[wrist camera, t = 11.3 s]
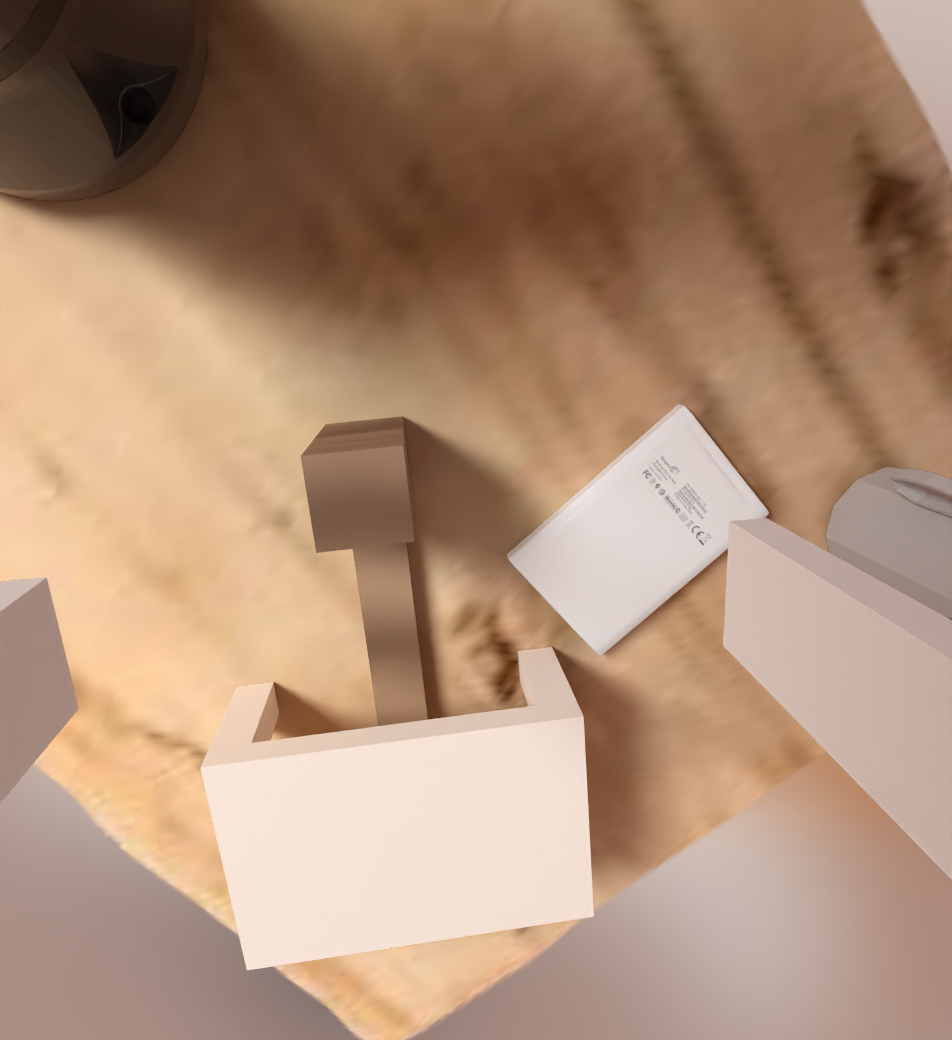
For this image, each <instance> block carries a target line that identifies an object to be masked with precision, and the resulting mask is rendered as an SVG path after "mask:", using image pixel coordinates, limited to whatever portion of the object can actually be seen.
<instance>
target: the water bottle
mask: <svg viewBox="0 0 952 1040" xmlns="http://www.w3.org/2000/svg"><path fill="white" fill-rule="evenodd" d="M825 538H826V541H827V545H828V549H829V553H831V554H832V555H834V556H836V557H838V558H840V559H841V560H843V561H845V562H847V563H849V564H851V565H852V566H854V567H856V568H858V569H860V570H861V571H863V572H865V573H867V574H869V575H871V576H872V577H874V578H876V579H878V580H880V581H881V582H883V583H885V584H887V585H889V586H890V587H892V588H894V589H896V590H898V591H900V592H901V593H903V594H905V595H907V596H909V597H910V598H912V599H914V600H916V601H918V602H919V603H921V604H923V605H925V606H927V607H929V608H930V609H932V610H934V611H936V612H938V613H939V614H941V615H943V616H945V617H948V618H951V619H952V479H950V478H947V477H944V476H942V475H939V474H936V473H932V472H927V471H922V470H918V469H903V468H895V467H885V468H883V469H881V470H878V471H876V472H873V473H871V474H869V475H866V476H864V477H862V478H859V479H857V480H856V481H855V482H854V483H853V484H852V485H851V487H850V488H849V489H848V490H847V491H846V492H845V493H844V494H843V496H842V497H841V498H840V499H839V500H838V501H837V502H836V504H835V505H834V506H833V509H832V513H831V517H830V521H829V525H828V528H827V532H826V536H825Z"/></svg>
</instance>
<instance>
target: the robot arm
mask: <svg viewBox="0 0 952 1040" xmlns="http://www.w3.org/2000/svg"><path fill="white" fill-rule="evenodd" d="M206 53H207V18H206V9H205V1H204V0H0V192H1V193H4V194H8V195H12V196H16V197H21V198H26V199H33V200H42V201H68V200H77V199H83V198H88V197H93V196H97V195H100V194H104V193H107V192H109V191H112V190H114V189H117V188H119V187H121V186H123V185H125V184H127V183H129V182H131V181H132V180H134V179H136V178H137V177H139V176H140V175H142V174H143V173H144V172H146V171H147V170H148V169H150V168H151V167H152V166H153V165H154V164H155V163H157V162H158V161H159V160H160V159H161V157H162V156H163V155H164V154H165V153H166V152H167V151H168V150H169V149H170V147H171V146H172V145H173V144H174V142H175V141H176V139H177V138H178V137H179V135H180V134H181V132H182V130H183V129H184V127H185V125H186V123H187V122H188V119H189V117H190V115H191V113H192V111H193V108H194V106H195V103H196V101H197V98H198V95H199V91H200V88H201V84H202V80H203V75H204V70H205V62H206ZM723 646H724V647H725V648H726V649H727V650H728V651H729V652H730V653H731V654H732V655H733V656H734V657H735V658H736V659H737V660H738V661H739V662H740V663H741V664H742V666H743V667H744V668H745V669H746V670H747V671H748V672H749V673H750V674H751V675H752V676H753V677H754V678H755V679H756V680H757V681H758V682H759V683H760V684H761V685H762V686H763V687H764V688H765V689H766V690H767V691H768V692H769V693H770V694H771V695H772V696H773V697H774V698H775V699H776V700H777V701H778V702H779V703H780V704H781V705H782V706H783V707H784V709H785V710H786V711H787V712H788V713H789V714H790V715H791V716H792V717H793V718H794V719H795V720H796V721H797V722H798V723H799V724H800V725H801V726H802V727H803V728H804V729H805V730H806V731H807V732H808V733H809V734H810V735H811V736H812V737H813V738H814V739H815V740H816V741H817V742H818V743H819V744H820V745H821V746H822V747H823V748H824V749H825V751H826V752H827V753H828V754H829V755H830V756H831V757H832V758H833V759H834V760H835V761H836V762H837V763H838V764H839V765H840V766H841V767H842V768H843V769H844V770H845V771H846V772H847V773H848V774H849V775H850V776H851V777H852V778H853V779H854V780H855V781H856V782H857V783H858V784H859V785H860V786H861V787H862V788H863V789H864V790H865V791H866V793H868V794H869V796H870V797H871V798H872V799H874V801H875V802H876V803H877V804H878V805H879V806H880V807H881V808H882V809H883V810H884V811H885V812H886V813H887V814H888V815H889V816H890V817H891V818H892V819H893V820H894V821H895V822H896V823H897V824H898V825H899V826H900V827H901V828H902V829H903V830H904V831H905V832H906V833H907V834H908V836H910V838H911V839H912V840H913V841H914V842H915V843H916V844H917V845H918V846H919V847H920V848H921V849H922V850H923V851H924V852H925V853H926V854H927V855H928V856H929V857H930V858H931V859H932V860H933V861H934V862H935V863H936V864H937V865H938V866H939V867H940V868H941V869H942V870H943V871H944V872H945V873H946V874H947V875H948V876H949V877H950V879H951V880H952V619H951V618H948V617H945V616H943V615H941V614H939V613H938V612H936V611H934V610H932V609H930V608H929V607H927V606H925V605H923V604H921V603H919V602H918V601H916V600H914V599H912V598H910V597H909V596H907V595H905V594H903V593H901V592H900V591H898V590H896V589H894V588H892V587H890V586H889V585H887V584H885V583H883V582H881V581H880V580H878V579H876V578H874V577H872V576H871V575H869V574H867V573H865V572H863V571H861V570H860V569H858V568H856V567H854V566H852V565H851V564H849V563H847V562H845V561H843V560H841V559H840V558H838V557H836V556H834V555H832V554H831V553H829V552H827V551H825V550H823V549H822V548H820V547H818V546H816V545H814V544H812V543H811V542H809V541H807V540H805V539H803V538H802V537H800V536H798V535H796V534H794V533H793V532H791V531H789V530H787V529H785V528H783V527H782V526H780V525H778V524H776V523H774V522H773V521H771V520H769V519H767V518H760V519H748V520H736V521H729V541H728V560H727V580H726V599H725V619H724V638H723ZM78 709H79V708H78V704H77V700H76V696H75V692H74V688H73V684H72V680H71V675H70V671H69V667H68V663H67V659H66V655H65V651H64V647H63V643H62V639H61V634H60V630H59V626H58V622H57V618H56V614H55V610H54V606H53V602H52V598H51V593H50V589H49V585H48V581H47V578H35V579H23V580H11V581H3V582H1V583H0V803H1V801H2V800H3V799H4V798H5V797H6V796H7V794H8V793H9V792H10V791H11V790H12V788H13V787H14V786H15V785H16V784H17V782H18V781H19V780H20V779H21V777H22V776H23V775H24V774H25V772H26V771H27V770H28V769H29V768H30V767H31V765H32V764H33V763H34V762H35V761H36V759H37V758H38V757H39V756H40V755H41V753H42V752H43V751H44V750H45V749H46V747H47V746H48V745H49V744H50V743H51V741H52V740H53V739H54V738H55V737H56V735H57V734H58V733H59V732H60V730H61V729H62V728H63V727H64V726H65V724H66V723H67V722H68V721H69V720H70V718H71V717H72V716H73V715H74V714H75V712H76V711H77V710H78Z"/></svg>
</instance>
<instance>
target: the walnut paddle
mask: <svg viewBox="0 0 952 1040" xmlns="http://www.w3.org/2000/svg"><path fill="white" fill-rule="evenodd" d="M301 460H302V466H303V472H304V478H305V485H306V491H307V497H308V503H309V510H310V516H311V522H312V528H313V535H314V541H315V547H316V553H318V552H327V551H336V550H344V549H353V553H354V560H355V567H356V574H357V581H358V588H359V594H360V601H361V608H362V615H363V622H364V629H365V636H366V643H367V650H368V657H369V664H370V670H371V677H372V684H373V691H374V698H375V705H376V712H377V719H378V726H384V725H391V724H399V723H407V722H414V721H422V720H428V712H427V704H426V695H425V687H424V679H423V671H422V662H421V654H420V646H419V638H418V630H417V621H416V613H415V605H414V597H413V588H412V580H411V572H410V564H409V556H408V547H407V542H414V522H413V501H412V487H411V478H410V470H409V461H408V452H407V444H406V435H405V427H404V418H403V417H394V418H384V419H374V420H364V421H354V422H345V423H335V424H326V425H325V426H324V427H323V429H322V430H321V431H320V432H319V434H318V435H317V436H316V437H315V439H314V440H313V441H312V443H311V444H310V445H309V446H308V448H307V449H306V450H305V452H304V453H303V454H302V455H301Z"/></svg>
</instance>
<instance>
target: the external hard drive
mask: <svg viewBox="0 0 952 1040" xmlns="http://www.w3.org/2000/svg"><path fill="white" fill-rule="evenodd" d="M768 514H769V512H768V510H767V509H766V507H765V506H764V505H763V504H762V502H761V501H760V500H759V499H758V497H757V496H756V495H755V493H754V492H753V491H752V490H751V489H750V487H749V486H748V485H747V484H746V482H745V481H744V480H743V478H742V477H741V476H740V475H739V473H738V472H737V471H736V470H735V468H734V467H733V466H732V464H731V463H730V462H729V460H728V459H727V458H726V457H725V455H724V454H723V453H722V452H721V450H720V449H719V448H718V446H717V445H716V444H715V443H714V441H713V440H712V439H711V437H710V436H709V435H708V434H707V432H706V431H705V430H704V429H703V427H702V426H701V425H700V424H699V422H698V421H697V420H696V418H695V417H694V416H693V414H692V413H691V412H690V411H689V410H688V409H687V408H686V407H685V406H684V405H681V404H678V405H676V406H675V407H674V408H673V409H672V410H671V411H670V412H668V413H667V414H666V415H665V416H664V417H663V418H662V419H660V420H659V421H658V422H657V423H656V424H655V425H654V426H652V427H651V428H650V429H649V430H648V431H647V432H646V433H644V434H643V435H642V436H641V437H640V438H639V439H638V440H636V441H635V442H634V443H633V444H632V445H631V446H630V447H628V448H627V449H626V450H625V451H624V452H623V453H622V454H620V455H619V456H618V457H617V458H616V459H615V460H614V461H612V462H611V463H610V464H609V465H608V466H607V467H606V468H604V469H603V470H602V471H601V472H600V473H599V474H598V475H597V476H595V477H594V478H593V479H592V480H591V481H590V482H588V483H587V484H586V485H585V486H584V487H583V488H582V489H581V490H579V491H578V492H577V493H576V494H575V495H574V496H573V497H571V498H570V499H569V500H568V501H567V502H566V503H565V504H563V505H562V506H561V507H560V508H559V509H558V510H556V511H555V512H554V513H553V514H552V515H551V516H550V517H548V518H547V519H546V520H545V521H544V522H543V523H542V524H541V525H539V526H538V527H537V528H536V529H535V530H534V531H533V532H531V533H530V534H529V535H528V536H527V537H526V538H524V539H523V540H522V541H521V542H520V543H519V544H518V545H517V546H515V547H514V548H513V549H512V550H511V551H510V552H509V553H507V555H506V556H507V558H508V560H509V561H510V562H511V563H512V565H513V566H514V567H515V568H516V569H517V570H518V571H519V572H520V573H521V574H522V575H523V576H524V577H525V578H526V579H527V581H528V582H529V583H530V584H531V585H532V586H533V587H534V588H535V589H536V590H537V591H538V592H539V593H540V594H541V595H542V596H543V597H544V598H545V600H546V601H547V602H548V603H549V604H550V605H551V606H552V607H553V608H554V609H555V610H556V611H557V612H558V613H559V614H560V615H561V616H562V617H563V619H564V620H565V621H566V622H567V623H568V624H569V625H570V626H571V627H572V628H573V629H574V630H575V631H576V633H577V634H578V635H579V636H580V637H581V638H582V639H583V640H584V641H585V642H586V643H587V644H588V645H589V646H590V647H591V648H592V649H593V650H594V651H595V652H596V653H597V654H598V656H602V655H603V654H604V653H605V652H606V651H608V650H609V649H610V648H611V647H612V646H614V645H615V644H616V643H617V642H618V641H620V640H621V639H622V638H623V637H624V636H625V635H627V634H628V633H629V632H630V631H631V630H632V629H634V628H635V627H636V626H637V625H638V624H640V623H641V622H642V621H643V620H644V619H645V618H647V617H648V616H649V615H650V614H651V613H653V612H654V611H655V610H656V609H657V608H658V607H660V606H661V605H662V604H663V603H664V602H665V601H667V600H668V599H669V598H670V597H671V596H673V595H674V594H675V593H676V592H677V591H678V590H680V589H681V588H682V587H683V586H684V585H686V584H687V583H688V582H689V581H690V580H692V579H693V578H694V577H695V576H696V575H697V574H699V573H700V572H701V571H702V570H703V569H704V568H706V567H707V566H708V565H709V564H710V563H712V562H713V561H714V560H715V559H716V558H717V557H719V556H720V555H721V554H722V553H723V552H724V551H726V550H727V549H728V541H729V521H736V520H748V519H760V518H765V517H766V516H767V515H768Z"/></svg>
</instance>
